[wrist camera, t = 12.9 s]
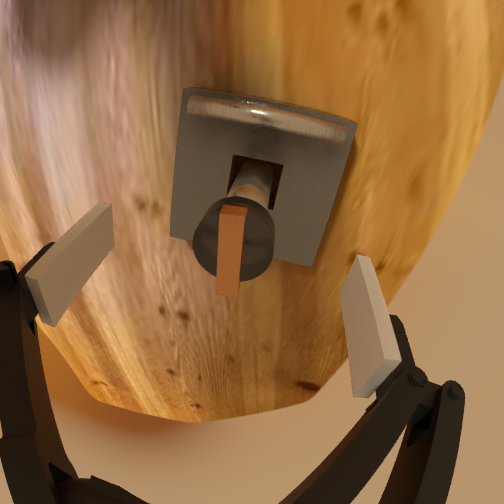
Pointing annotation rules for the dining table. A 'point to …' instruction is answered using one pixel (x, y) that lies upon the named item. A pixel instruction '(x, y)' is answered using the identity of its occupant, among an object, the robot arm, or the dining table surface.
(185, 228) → the grey flat square block
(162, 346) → the dining table surface
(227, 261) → the key
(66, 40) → the dining table surface
